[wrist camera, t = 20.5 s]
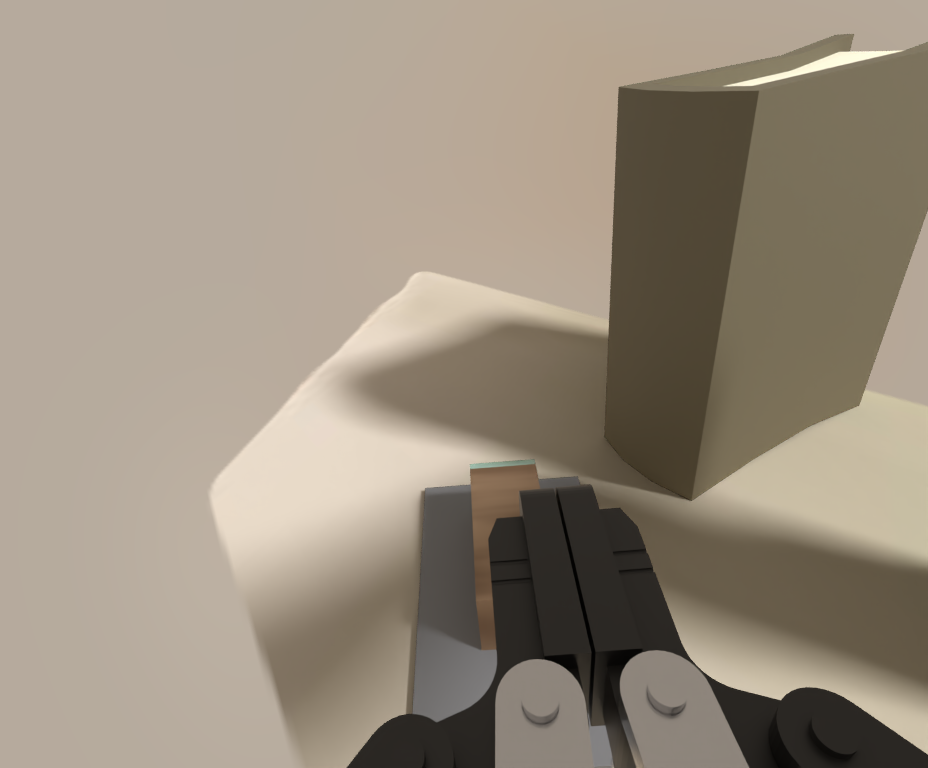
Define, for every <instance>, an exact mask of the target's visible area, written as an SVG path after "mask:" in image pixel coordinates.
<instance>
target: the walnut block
mask: <svg viewBox="0 0 928 768" xmlns="http://www.w3.org/2000/svg"><path fill="white" fill-rule="evenodd" d="M470 476H471V498H472V521H473V544H474V566H475V589H476V605H477V614H478V623H479V631H480V640H481V649H482V650H496V637H495V624H494V611H493V597H492V584H491V571H490V558H489V545H488V538H489V535H490V533H491V531H492V528H493V526H494V523H495V521H496V519H497V518H506V517H518V516H520V509H519V491H521V490H533V489H540V485H539V480H538V475H537V470H536V465H535V460H534V459H531V460H518V461H505V462H492V463H479V464H470Z"/></svg>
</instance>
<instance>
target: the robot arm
mask: <svg viewBox="0 0 928 768" xmlns="http://www.w3.org/2000/svg"><path fill="white" fill-rule="evenodd" d="M519 509H520V516H518V517H506V518H497V519H496V521H495V523H494V526H493V528H492V531H491V533H490V535H489V538H488V545H489V558H490V571H491V584H492V597H493V611H494V624H495V637H496V650H497V667H496V673H495V676H494V679H493V681H492V683H491V685H490V687H489V689H488V690H487V691H486V693H485V694H484V695H483V696H482V697H481V698H480V699H479V700H478V701H477V702H476V703H474V704H473V705H472V706H470V707H468V708H466V709H465V710H463V711H460V712H458V713H456V714H454V715H452V716H450V717H447V718H445V719H443V720H441V721H439V722H435V721H434V720H432V719H431V718H429V717H426V716H423V715H418V714H406V715H401V716H398V717H395V718H393V719H391V720H389V721H387V722H386V723H384V724H383V725H382V726H381V727H379V728H378V729H377V730H376V732H375V733H374V734H373V735H372V736H371V737H370V739H369V740H368V741H367V743H366V744H365V745H364V746H363V748H362V749H361V750H360V751H359V753H358V754H357V755H356V757H355V758H354V759H353V760H352V762H351V763H350V764H349V766H348V767H347V768H594V764H593V756H592V749H591V741H590V733H589V720H590V725H591V726H603V725H605V726H606V730H607V735H608V739H609V744H610V748H611V753H612V757H611V768H928V755H927V754H926V753H925V752H923V751H922V750H920V749H919V748H917V747H916V746H914V745H913V744H911V743H910V742H909V741H907V740H906V739H904V738H903V737H901V736H900V735H898V734H897V733H896V732H894V731H893V730H891V729H890V728H888V727H887V726H885V725H884V724H883V723H881V722H880V721H878V720H877V719H875V718H874V717H872V716H871V715H869V714H868V713H867V712H865V711H864V710H862V709H861V708H859V707H858V706H856V705H855V704H854V703H852V702H850V701H849V700H847V699H845V698H844V697H842V696H840V695H838V694H836V693H833V692H830V691H827V690H824V689H819V688H809V687H806V688H799V689H796V690H793V691H791V692H789V693H788V694H786V695H785V696H784V698H783V699H782V700H777V699H773V698H769V697H765V696H761V695H757V694H753V693H749V692H745V691H741V690H737V689H734V688H731V687H728V686H726V685H724V684H721V683H719V682H718V681H716V680H714V679H712V678H711V677H709V676H708V675H707V674H705V673H704V672H703V671H702V670H701V669H700V668H699V667H698V666H696V665H695V663H694V662H693V661H692V660H691V659H690V657H689V656H688V654H687V653H686V651H685V649H684V647H683V645H682V643H681V640H680V638H679V635H678V632H677V630H676V627H675V625H674V622H673V619H672V617H671V614H670V611H669V609H668V606H667V603H666V601H665V598H664V595H663V593H662V590H661V588H660V585H659V582H658V580H657V577H656V574H655V572H653V566H652V564H651V561H650V558H649V556H648V553H646V548H645V545H644V543H643V540H642V537H641V535H640V532H639V529H638V527H637V526H636V524H635V523H634V522H633V521H632V520H631V519H630V518H629V517H628V516H627V515H626V514H625V513H624V512H623V511H622V510H621V509H620V508H612V509H600V510H599V507H598V503H597V500H596V497H595V494H594V491H593V488H592V486H591V485H590V484H589V485H578V486H566V487H556V488H555V491H554V489H553V488H544V489H533V490H521V491H519ZM588 715H589V718H588Z"/></svg>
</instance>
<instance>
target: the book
mask: <svg viewBox="0 0 928 768" xmlns="http://www.w3.org/2000/svg"><path fill="white" fill-rule="evenodd" d="M853 36H854V34H844V35H834V36H831V37H829V38H826V39H823V40H821V41H818V42H816V43H813V44H810V45H808V46H805V47H802V48H800V49H797V50H794V51H792V52H789V53H786V54H784V55H781V56H777V57H772V58H767V59H761V60H756V61H751V62H747V63H741V64H736V65H731V66H726V67H721V68H716V69H711V70H707V71H701V72H696V73H690V74H685V75H680V76H674V77H669V78H664V79H659V80H654V81H648V82H643V83H637V84H632V85H627V86H622V87H619V94H618V118H617V142H616V167H615V191H614V215H613V216H614V217H613V240H612V241H613V242H612V264H611V289H610V313H609V338H608V363H607V387H606V412H605V436H604V437H605V438H606V439H607V441H608V442H609V443H610V444H611V445H612V447H613V448H614V449H615V450H616V452H617V453H618V454H619V455H620V457H621V458H622V459H623V460H624V461H625V462H627V463H628V464H629V465H631V466H632V467H633V468H635V469H636V470H637V471H639V472H640V473H641V474H643V475H644V476H645V477H647V478H648V479H649V480H651V481H652V482H654V483H656V484H658V485H660V486H662V487H664V488H666V489H668V490H670V491H672V492H675V493H677V494H679V495H681V496H683V497H685V498H687V499H689V500H691V501H692V500H693V499H695V498H696V497H698V496H699V495H701V494H702V493H704V492H705V491H707V490H708V489H710V488H711V487H713V486H714V485H716V484H717V483H719V482H720V481H722V480H723V479H725V478H726V477H728V476H729V475H731V474H732V473H734V472H735V471H737V470H738V469H740V468H741V467H742V466H744V465H745V464H747V463H748V462H750V461H751V460H753V459H755V458H756V457H758V456H760V455H761V454H763V453H765V452H767V451H768V450H770V449H772V448H773V447H775V446H777V445H778V444H780V443H782V442H783V441H785V440H787V439H789V438H790V437H792V436H794V435H795V434H797V433H799V432H800V431H802V430H804V429H805V428H807V427H809V426H811V425H813V424H815V423H818V422H820V421H823V420H825V419H827V418H830V417H832V416H835V415H837V414H839V413H842V412H844V411H847V410H849V409H852V408H854V407H856V406H859V404H860V401H861V399H862V396H863V393H864V390H865V387H866V384H867V382H868V379H869V376H870V373H871V370H872V367H873V364H874V362H875V359H876V356H877V353H878V350H879V347H880V344H881V342H882V339H883V336H884V333H885V330H886V327H887V324H888V322H889V319H890V316H891V313H892V310H893V308H894V305H895V302H896V299H897V296H898V293H899V290H900V287H901V284H902V282H903V279H904V276H905V273H906V270H907V268H908V265H909V262H910V259H911V256H912V253H913V251H914V247H915V245H916V242H917V239H918V236H919V234H920V231H921V228H922V225H923V222H924V219H925V216H926V214H927V211H928V42H926V43H924V44H921V45H919V46H915V47H913V48H910V49H907V50H905V51H874V52H850V48H851V44H852V40H853Z"/></svg>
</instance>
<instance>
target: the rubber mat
mask: <svg viewBox="0 0 928 768" xmlns="http://www.w3.org/2000/svg"><path fill="white" fill-rule="evenodd" d="M538 480H539V485H540V489H544V488H553V489H554V491H555V488H556V487H566V486H578V485H580V482H579V479H578V476H577V477H564V478H551V479H538ZM496 667H497V650H482V649H481V640H480V631H479V623H478V614H477V605H476V589H475V566H474V544H473V521H472V498H471V485H460V486H447V487H434V488H425V503H424V521H423V538H422V556H421V573H420V591H419V608H418V626H417V644H416V661H415V679H414V696H413V714H418V715H423V716H426V717H429V718H431V719H432V720H434V721H435V722H439V721H441V720H443V719H445V718H447V717H450V716H452V715H454V714H456V713H458V712H460V711H463V710H465V709H466V708H468V707H470V706H472V705H473V704H474V703H476V702H477V701H478V700H479V699H480V698H481V697H482V696H483V695H484V694H485V693H486V691H487V690H488V689H489V687H490V685H491V683H492V681H493V679H494V676H495V673H496ZM588 718H589V715H588ZM589 733H590V741H591V749H592V756H593V764H594V768H611V757H612V753H611V748H610V744H609V739H608V735H607V730H606V726H605V725H603V726H591V725H590V720H589Z"/></svg>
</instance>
